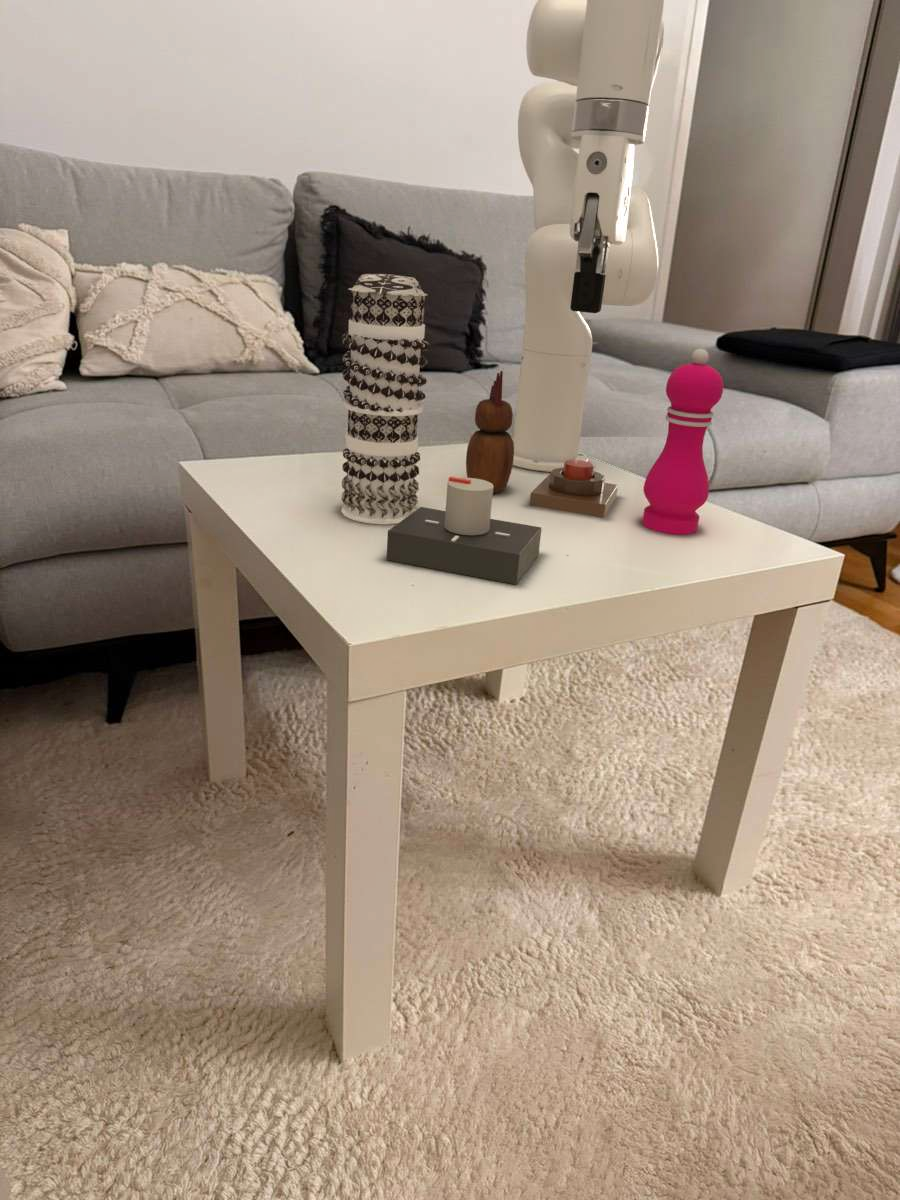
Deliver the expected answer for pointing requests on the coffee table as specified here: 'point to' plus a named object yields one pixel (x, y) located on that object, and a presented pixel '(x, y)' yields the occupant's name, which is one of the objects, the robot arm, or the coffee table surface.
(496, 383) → the wooden figurine
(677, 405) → the pepper mill
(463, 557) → the panel
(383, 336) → the decorative candle
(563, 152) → the robot arm
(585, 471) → the button
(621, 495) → the coffee table surface
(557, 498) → the button block
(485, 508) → the knob
